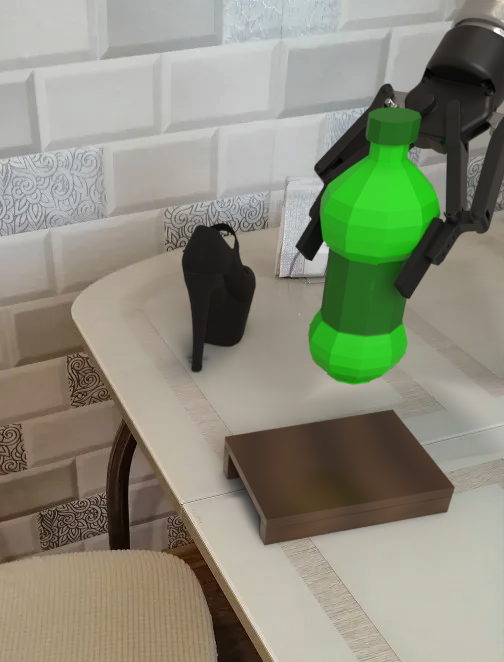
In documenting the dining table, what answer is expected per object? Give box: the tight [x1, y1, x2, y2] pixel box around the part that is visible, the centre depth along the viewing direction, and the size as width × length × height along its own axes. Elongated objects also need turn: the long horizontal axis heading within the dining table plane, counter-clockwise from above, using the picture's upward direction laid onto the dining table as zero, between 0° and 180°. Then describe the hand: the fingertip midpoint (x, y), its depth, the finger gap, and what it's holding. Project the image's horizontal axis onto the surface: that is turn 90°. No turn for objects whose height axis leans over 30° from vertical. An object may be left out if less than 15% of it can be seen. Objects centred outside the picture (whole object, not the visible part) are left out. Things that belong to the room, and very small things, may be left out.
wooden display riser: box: [222, 409, 456, 546], centre depth 86 cm, size 20×14×5 cm
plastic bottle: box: [307, 107, 441, 386], centre depth 74 cm, size 10×10×25 cm
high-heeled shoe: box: [181, 222, 257, 373], centre depth 106 cm, size 8×19×20 cm, turn 155°
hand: (350, 272), depth 73 cm, fingers closed on plastic bottle, 10 cm apart
